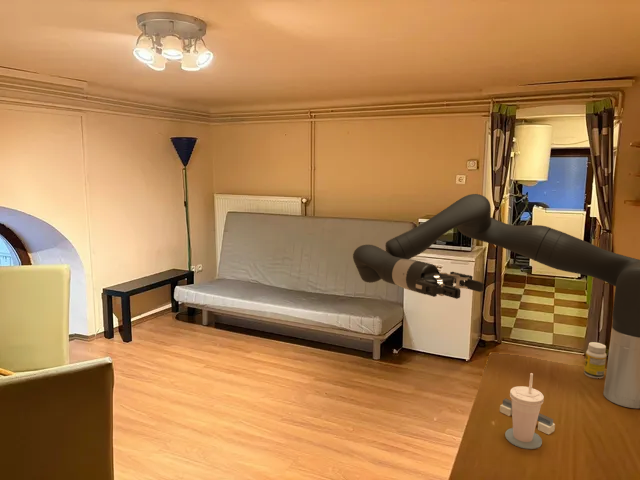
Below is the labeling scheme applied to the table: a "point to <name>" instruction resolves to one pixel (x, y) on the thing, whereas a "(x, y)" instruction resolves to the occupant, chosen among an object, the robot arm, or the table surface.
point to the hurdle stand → (541, 426)
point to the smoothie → (525, 410)
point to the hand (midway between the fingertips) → (471, 290)
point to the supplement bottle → (595, 360)
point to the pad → (532, 444)
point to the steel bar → (541, 417)
